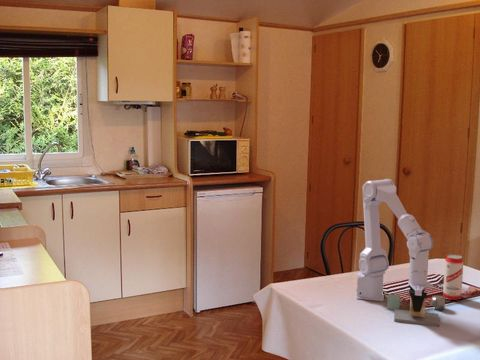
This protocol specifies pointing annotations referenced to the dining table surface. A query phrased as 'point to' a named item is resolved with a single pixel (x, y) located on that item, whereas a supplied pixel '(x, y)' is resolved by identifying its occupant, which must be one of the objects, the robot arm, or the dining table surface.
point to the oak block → (420, 314)
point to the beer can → (453, 277)
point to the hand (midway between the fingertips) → (416, 308)
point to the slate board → (416, 318)
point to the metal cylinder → (438, 303)
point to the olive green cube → (393, 302)
